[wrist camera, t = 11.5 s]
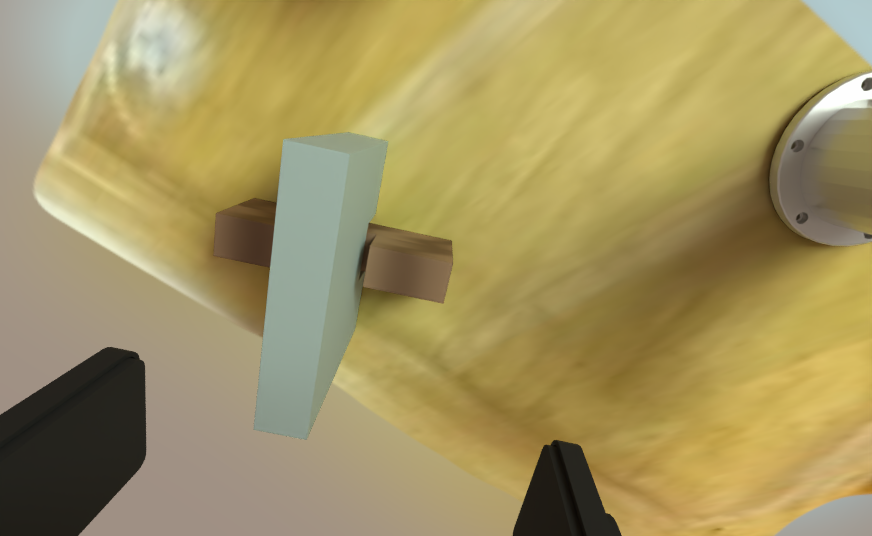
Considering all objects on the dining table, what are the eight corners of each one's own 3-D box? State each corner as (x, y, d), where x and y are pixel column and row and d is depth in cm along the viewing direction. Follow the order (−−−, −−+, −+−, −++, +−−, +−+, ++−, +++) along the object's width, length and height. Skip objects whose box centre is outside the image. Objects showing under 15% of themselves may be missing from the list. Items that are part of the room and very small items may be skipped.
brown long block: (451, 240, 35) (453, 263, 30) (443, 275, 36) (443, 303, 30) (253, 198, 34) (216, 213, 29) (250, 234, 35) (213, 255, 30)
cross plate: (349, 132, 33) (283, 139, 19) (388, 141, 33) (349, 154, 20) (320, 321, 38) (253, 429, 24) (355, 328, 38) (306, 439, 25)
